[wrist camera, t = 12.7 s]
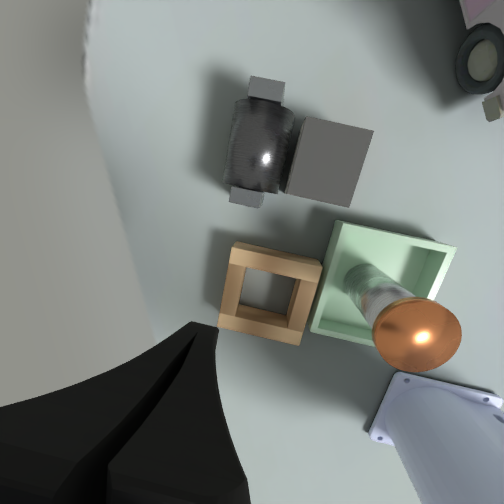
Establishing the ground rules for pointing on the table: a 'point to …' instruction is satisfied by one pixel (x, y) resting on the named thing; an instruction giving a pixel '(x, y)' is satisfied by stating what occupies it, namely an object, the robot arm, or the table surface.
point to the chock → (327, 161)
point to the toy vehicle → (483, 54)
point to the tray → (384, 258)
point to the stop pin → (403, 321)
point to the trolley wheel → (258, 142)
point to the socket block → (262, 320)
